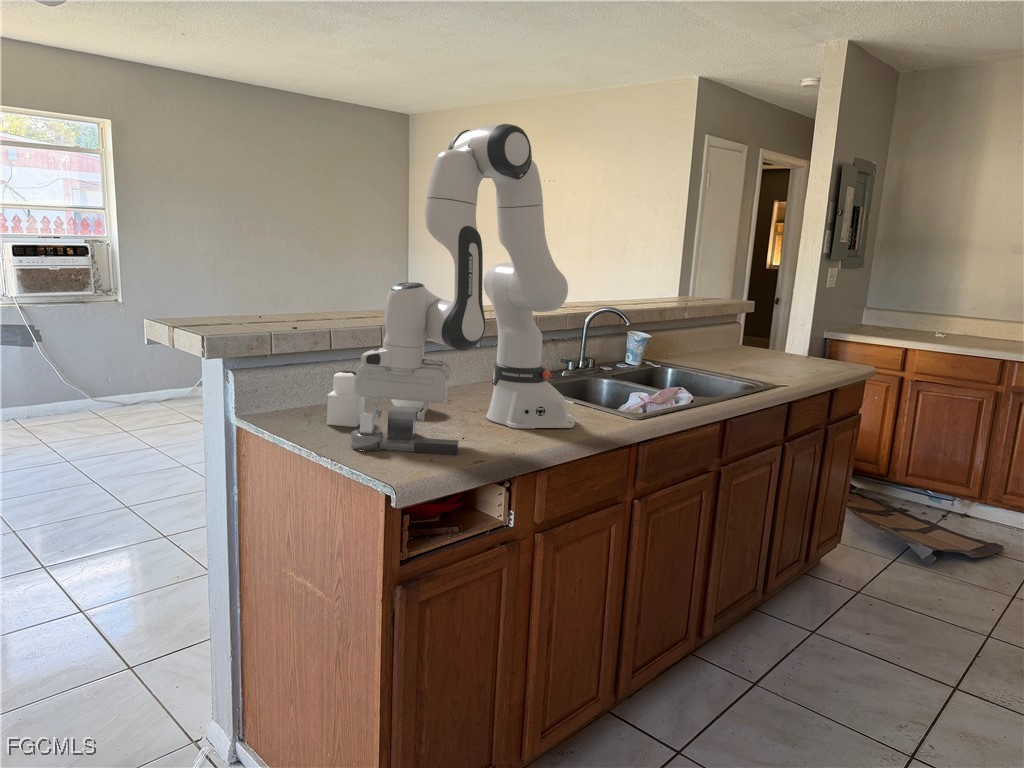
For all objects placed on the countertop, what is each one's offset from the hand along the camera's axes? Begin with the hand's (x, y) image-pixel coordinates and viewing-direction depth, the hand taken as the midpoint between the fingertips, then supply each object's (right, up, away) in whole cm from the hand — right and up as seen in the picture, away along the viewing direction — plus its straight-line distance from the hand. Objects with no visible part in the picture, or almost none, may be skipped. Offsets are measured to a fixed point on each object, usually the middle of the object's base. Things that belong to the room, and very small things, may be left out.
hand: (399, 418), depth 152 cm
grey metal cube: (0, -4, +1) cm, 4 cm away
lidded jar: (-1, +1, +25) cm, 25 cm away
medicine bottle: (-14, -1, +8) cm, 16 cm away
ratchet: (+3, -6, -9) cm, 11 cm away
